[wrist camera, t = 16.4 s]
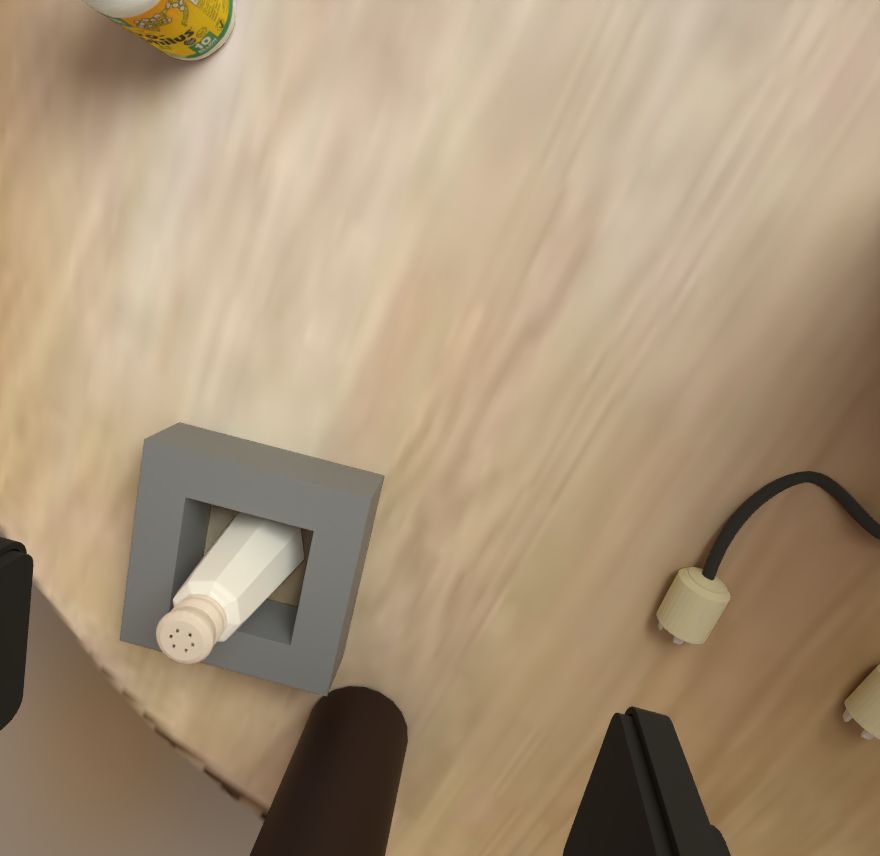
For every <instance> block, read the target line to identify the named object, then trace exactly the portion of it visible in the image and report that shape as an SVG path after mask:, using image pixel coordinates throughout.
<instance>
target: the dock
mask: <svg viewBox="0 0 880 856" xmlns="http://www.w3.org/2000/svg"><path fill="white" fill-rule="evenodd" d="M383 479H384V476H383V475H379V474H375V473H372V472H368V471H364V470H360V469H356V468H352V467H349V466H345V465H341V464H337V463H333V462H329V461H325V460H322V459H318V458H314V457H310V456H306V455H302V454H299V453H295V452H291V451H287V450H283V449H279V448H275V447H272V446H268V445H264V444H260V443H256V442H252V441H249V440H245V439H241V438H237V437H233V436H229V435H225V434H222V433H218V432H214V431H210V430H206V429H202V428H198V427H195V426H191V425H187V424H183V423H177V424H175V425H173V426H171V427H169V428H167V429H165V430H163V431H161V432H159V433H157V434H154V435H152V436H150V437H148V438H146V439H144V446H143V454H142V462H141V470H140V478H139V487H138V495H137V503H136V511H135V519H134V527H133V535H132V543H131V552H130V560H129V568H128V576H127V584H126V592H125V600H124V608H123V617H122V625H121V633H120V641H124V642H128V643H131V644H135V645H139V646H142V647H146V648H150V649H153V650H157V651H161V652H163V651H162V650H161V649H160V647H159V645H158V642H157V638H156V628H157V625H158V623H159V621H160V620H161V619H162V618H163V617H164V616H165V615H166V614H168V613H169V612H171V610H172V609H173V608H174V605H173V598H174V597H175V595H176V594H177V592H178V591H179V589H180V588H181V587H182V585H183V584H184V583H185V581H186V580H187V579H188V577H189V576H190V575H191V573H192V572H193V571H194V569H195V568H196V567H197V565H198V564H199V563H200V561H201V560H202V558H203V555H204V548H205V542H206V535H207V529H208V523H209V516H210V510H211V504H213V505H217V506H220V507H224V508H228V509H232V510H236V511H239V512H243V513H247V514H251V515H254V516H258V517H262V518H266V519H270V520H273V521H277V522H281V523H285V524H289V525H292V526H296V527H300V528H304V529H308V530H311V531H314V532H313V537H312V542H311V547H310V552H309V557H308V562H307V567H306V572H305V577H304V582H303V587H302V591H301V596H300V601H299V606H298V607H295V606H291V605H288V604H284V603H280V602H276V601H273V600H269V599H266V600H265V601H264V602H263V603H262V604H261V605H260V606H259V607H258V608H257V609H256V610H255V611H254V613H253V614H252V615H251V616H250V617H249V618H248V619H247V620H246V621H245V622H244V623H243V624H242V625H241V626H240V627H239V628H238V629H237V630H236V631H235V632H234V633H233V634H232V635H231V636H230V637H229V638H228V639H227V640H225V641H224V642H216V644H215V645H214V646H213V648H212V650H211V652H210V654H209V655H208V656H207V657H206V658H205V659H204V660H202V661H200V662H201V663H205V664H209V665H212V666H216V667H220V668H223V669H227V670H231V671H234V672H238V673H242V674H245V675H249V676H253V677H256V678H260V679H264V680H268V681H271V682H275V683H279V684H282V685H286V686H290V687H293V688H297V689H301V690H304V691H308V692H312V693H315V694H319V695H323V696H326V697H327V695H328V692H329V690H330V687H331V685H332V682H333V680H334V678H335V675H336V673H337V670H338V668H339V665H340V663H341V660H342V658H343V654H344V650H345V645H346V641H347V637H348V632H349V628H350V623H351V619H352V615H353V610H354V606H355V602H356V597H357V593H358V589H359V584H360V580H361V575H362V571H363V567H364V562H365V558H366V554H367V549H368V545H369V541H370V536H371V532H372V527H373V523H374V519H375V514H376V510H377V506H378V501H379V497H380V492H381V488H382V484H383Z"/></svg>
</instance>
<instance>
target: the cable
mask: <svg viewBox="0 0 880 856" xmlns="http://www.w3.org/2000/svg"><path fill="white" fill-rule="evenodd" d="M804 482H810V483H814V484H816V485H818V486H820V487H821V488H823V489H824V490H825V491H827V492H828V493H829V494H830V495H831V496H833V497H834V498H835V499H836V500H837V501H838V502H839V503H840V504H841V505H842V506H843V508H844V509H845V510H846V511H847V512H848V513H849V514H850V515H851V516H852V517H853V518H854V519H855V520H856V521H857V522H858V523H859V524H860V525H861V526H862V527H863V528H864V529H865V530H866V531H867V532H869V533H870V534H871V535H873V536H874V537H876V538H878V539H880V524H878V523H877V522H876V521H875V520H874V519H873V518H872V517H871V516H870V515H869V514H868V513H867V512H866V511H865V510H864V509H863V508H862V507H861V506H860V505H859V504H858V503H857V502H856V501H855V500H854V499H853V497H852V496H851V495H850V494H849V493H848V492H847V491H846V490H844V489H843V488H842V487H841V486H840V485H839V484H838V483H836V482H835V481H834V480H832V479H831V478H829V477H828V476H826V475H823V474H821V473H817V472H811V471H807V472H798V473H794V474H790V475H787V476H784V477H782V478H779V479H777V480H775V481H773V482H771V483H769V484H767V485H766V486H764V487H763V488H762V489H760V490H759V491H758V492H756V493H755V494H754V495H753V496H752V497H750V498H749V499H748V500H747V501H746V502H745V503H744V504H743V505H742V506H741V507H740V508H739V509H738V510H737V511H736V513H735V514H734V515H733V516H732V518H731V519H730V520H729V522H728V523H727V524H726V526H725V527H724V528H723V530H722V532H721V533H720V535H719V537H718V538H717V540H716V542H715V543H714V545H713V547H712V550H711V552H710V554H709V556H708V558H707V560H706V563H705V566H704V569H701V568H697V567H688V568H682V569H680V570H679V572H678V573H677V575H676V577H675V579H674V581H673V583H672V585H671V586H670V588H669V590H668V592H667V594H666V596H665V598H664V599H663V601H662V603H661V605H660V607H659V609H658V611H657V613H656V614H657V618H658V621H659V624H658V629H659V630H662V629H663V627H664V628H665V629H666V630H667V631H668V632H670V633H671V634H672V635H674V638H673V642H674V643H677V644H680V645H681V644H682V643H683V642H684V641H685V642H688V643H692V644H703V643H704V642H705V641H706V640H707V638H708V636H709V635H710V633H711V631H712V630H713V628H714V626H715V624H716V623H717V621H718V619H719V618H720V616H721V614H722V612H723V611H724V609H725V607H726V606H727V604H728V602H729V601H730V598H731V596H730V593H729V592H728V590H727V588H726V586H725V585H724V583H723V582H722V581H721V580H720V579H719V578H718V577H717V576H716V573H717V570H718V567H719V565H720V563H721V560H722V558H723V556H724V554H725V552H726V550H727V548H728V546H729V545H730V543H731V541H732V540H733V538H734V536H735V535H736V534H737V532H738V531H739V530H740V528H741V527H742V526H743V524H744V523H745V522H746V521H747V519H748V518H749V517H750V516H751V515H752V514H753V513H754V512H755V511H756V510H757V509H758V508H759V507H760V506H762V505H763V504H764V503H765V502H766V501H768V500H769V499H770V498H772V497H773V496H775V495H776V494H778V493H780V492H781V491H783V490H785V489H787V488H789V487H791V486H793V485H796V484H799V483H804ZM844 704H845V707H846V710H845V712H844V713H843V715H842V717H843V719H844V721H845V722H848V721H850V720H851V719H852V718H854V720H855V721H856V722H857V723H858V724H859V725H860V726H862V727H863V728H864V730H863V732H862V734H861V737H863V738H865V739H867V740H870V739H872V738H874V737H876V738H878V739H880V664H879V665H878V666H877V667H876V668H875V669H874V670H873V671H872V672H871V673H870V674H869V675H868V676H867V677H866V679H865V680H864V681H863V682H862V683H861V684H860V685H859V686H858V687H857V688H856V689H855V690H854V691H853V692H852V693H851V695H850V696H849V697H848V698H847V699H846V700H845V702H844Z"/></svg>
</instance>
